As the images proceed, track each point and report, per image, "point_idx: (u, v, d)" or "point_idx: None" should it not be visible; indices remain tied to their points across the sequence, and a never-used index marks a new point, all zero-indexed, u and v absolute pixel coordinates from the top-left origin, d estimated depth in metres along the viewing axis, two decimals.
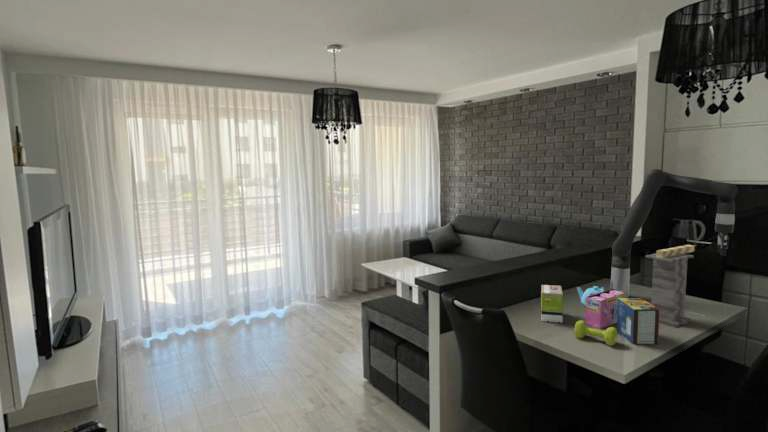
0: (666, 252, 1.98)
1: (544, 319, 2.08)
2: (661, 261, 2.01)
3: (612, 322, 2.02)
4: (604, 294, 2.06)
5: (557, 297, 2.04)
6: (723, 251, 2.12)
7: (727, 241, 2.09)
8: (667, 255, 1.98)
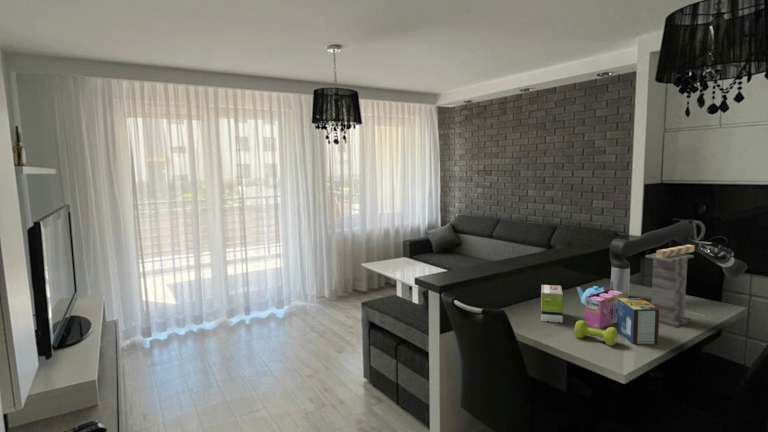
0: (666, 252, 1.98)
1: (544, 319, 2.08)
2: (661, 261, 2.01)
3: (611, 322, 2.02)
4: (603, 294, 2.07)
5: (557, 297, 2.04)
6: (723, 248, 2.15)
7: (731, 254, 2.16)
8: (667, 255, 1.98)
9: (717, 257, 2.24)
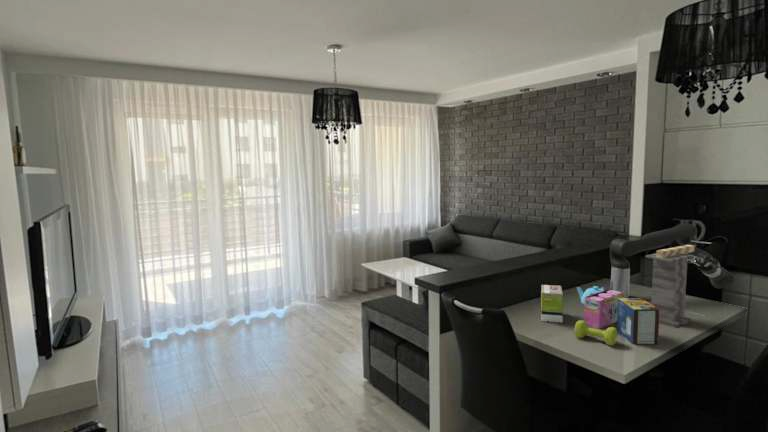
0: (666, 252, 1.98)
1: (544, 319, 2.08)
2: (661, 261, 2.01)
3: (610, 322, 2.02)
4: (602, 294, 2.07)
5: (557, 297, 2.04)
6: (709, 258, 2.09)
7: (717, 265, 2.10)
8: (667, 255, 1.98)
9: (703, 267, 2.18)
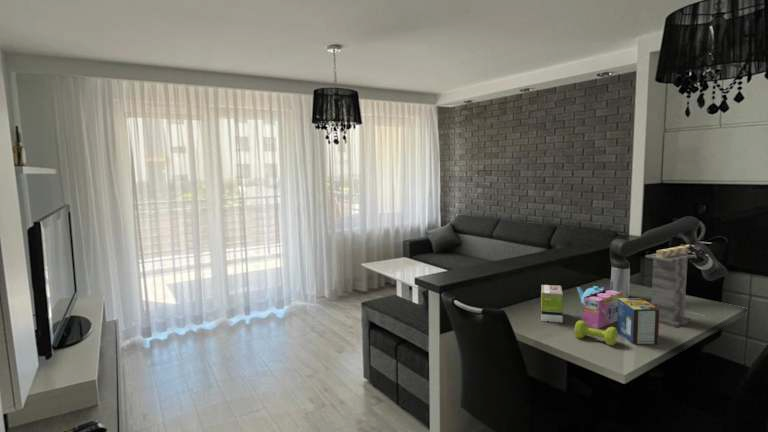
0: (666, 252, 1.98)
1: (544, 319, 2.08)
2: (661, 261, 2.01)
3: (609, 322, 2.02)
4: (600, 294, 2.07)
5: (557, 297, 2.04)
6: (693, 248, 2.06)
7: (704, 255, 2.06)
8: (667, 255, 1.98)
9: (694, 259, 2.13)
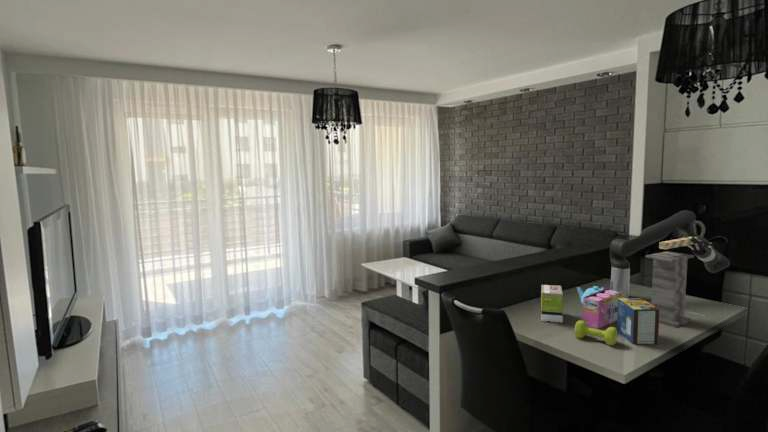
0: (669, 244, 1.98)
1: (544, 319, 2.08)
2: (661, 261, 2.01)
3: (609, 322, 2.02)
4: (600, 294, 2.07)
5: (557, 297, 2.04)
6: (696, 240, 2.07)
7: (706, 246, 2.06)
8: (670, 247, 1.99)
9: (697, 251, 2.14)
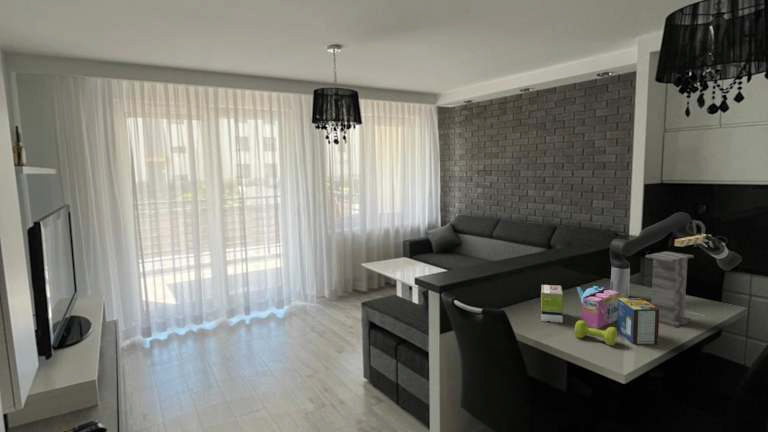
0: (684, 241, 2.04)
1: (544, 319, 2.08)
2: (661, 261, 2.01)
3: (608, 322, 2.02)
4: (599, 294, 2.07)
5: (557, 297, 2.04)
6: (710, 237, 2.13)
7: (720, 244, 2.12)
8: (685, 244, 2.05)
9: (711, 248, 2.20)
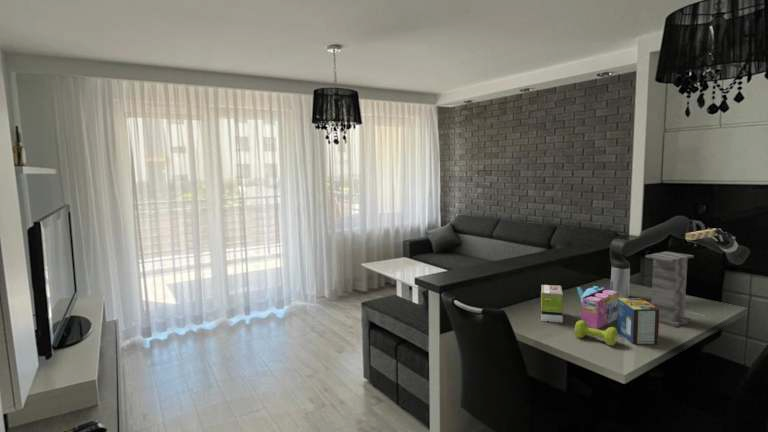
0: (695, 234, 2.08)
1: (544, 319, 2.08)
2: (661, 261, 2.01)
3: (607, 322, 2.02)
4: (598, 294, 2.07)
5: (557, 297, 2.04)
6: (720, 231, 2.17)
7: (730, 237, 2.16)
8: (696, 237, 2.09)
9: (720, 242, 2.24)
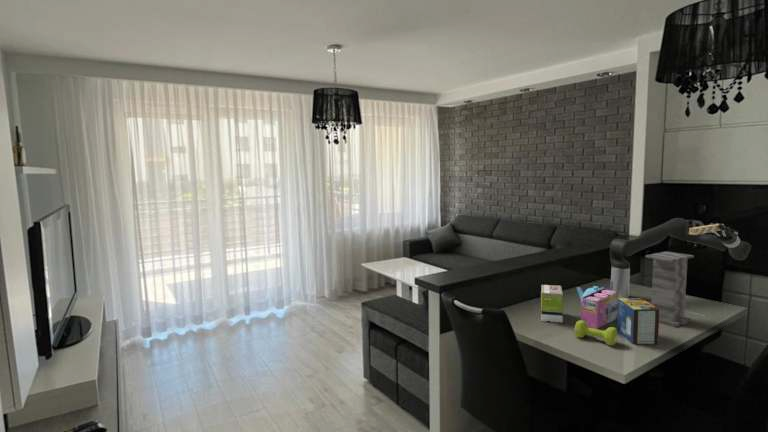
0: (698, 229, 2.09)
1: (544, 319, 2.08)
2: (661, 261, 2.01)
3: (607, 322, 2.02)
4: (597, 294, 2.07)
5: (557, 297, 2.04)
6: (723, 226, 2.18)
7: (733, 233, 2.18)
8: (699, 232, 2.10)
9: (723, 238, 2.25)
